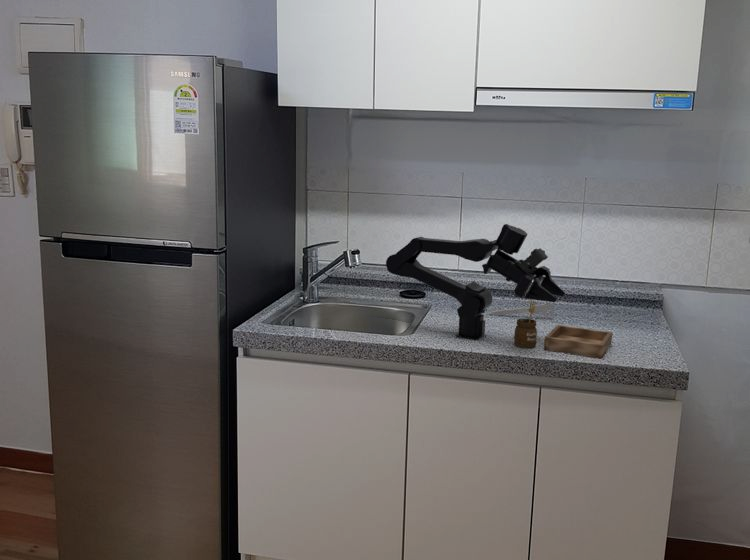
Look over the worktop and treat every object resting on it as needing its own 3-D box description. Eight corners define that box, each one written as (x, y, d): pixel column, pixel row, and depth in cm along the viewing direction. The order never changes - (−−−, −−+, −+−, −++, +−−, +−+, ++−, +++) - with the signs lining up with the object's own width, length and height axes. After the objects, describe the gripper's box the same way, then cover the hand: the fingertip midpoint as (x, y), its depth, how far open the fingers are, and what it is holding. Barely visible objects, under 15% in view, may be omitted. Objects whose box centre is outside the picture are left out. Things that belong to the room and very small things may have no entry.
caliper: (553, 319, 229) (554, 300, 228) (553, 320, 228) (555, 300, 227) (487, 315, 233) (488, 295, 231) (487, 315, 232) (488, 296, 230)
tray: (543, 349, 195) (544, 337, 194) (556, 336, 208) (557, 324, 207) (601, 358, 188) (602, 345, 188) (611, 344, 201) (612, 332, 201)
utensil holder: (509, 345, 198) (512, 302, 196) (521, 341, 203) (523, 299, 200) (529, 350, 194) (532, 306, 192) (540, 345, 199) (543, 302, 197)
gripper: (513, 245, 187) (567, 276, 182) (533, 238, 203) (582, 266, 198) (493, 282, 191) (545, 313, 186) (514, 272, 207) (562, 301, 202)
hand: (560, 297), depth 193 cm, fingers open, 9 cm apart
